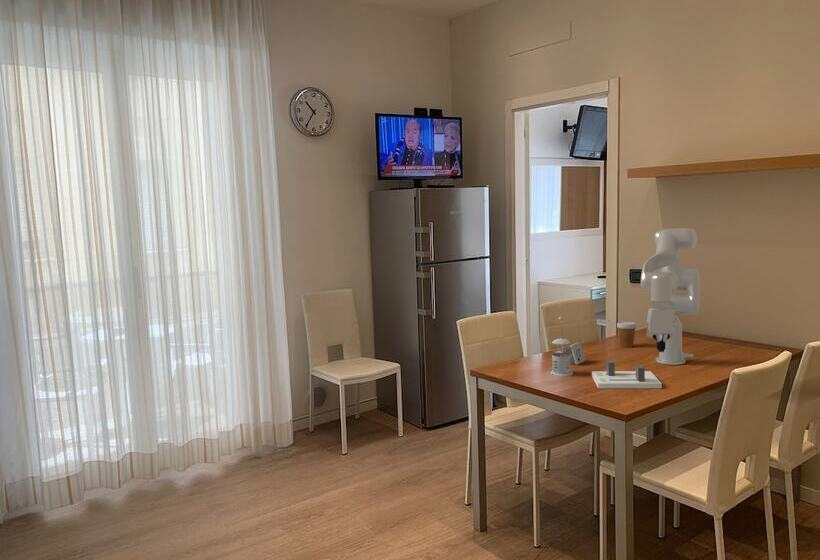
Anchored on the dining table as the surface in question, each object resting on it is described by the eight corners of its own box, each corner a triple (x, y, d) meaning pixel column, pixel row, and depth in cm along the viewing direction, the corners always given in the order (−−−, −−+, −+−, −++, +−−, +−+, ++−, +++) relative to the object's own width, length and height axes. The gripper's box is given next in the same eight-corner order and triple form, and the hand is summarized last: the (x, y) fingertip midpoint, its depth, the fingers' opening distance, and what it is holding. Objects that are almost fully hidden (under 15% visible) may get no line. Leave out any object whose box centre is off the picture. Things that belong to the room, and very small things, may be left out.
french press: (550, 376, 274) (549, 318, 272) (549, 369, 286) (548, 314, 283) (574, 376, 273) (573, 318, 270) (572, 369, 284) (571, 313, 281)
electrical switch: (577, 365, 291) (575, 345, 290) (566, 365, 294) (564, 345, 293) (585, 361, 298) (583, 341, 297) (575, 361, 301) (573, 341, 301)
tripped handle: (641, 377, 257) (641, 365, 257) (644, 380, 252) (644, 368, 252) (635, 377, 258) (635, 365, 257) (638, 380, 253) (638, 368, 252)
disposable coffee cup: (618, 343, 331) (618, 321, 330) (637, 344, 327) (637, 321, 326) (615, 347, 323) (615, 324, 322) (635, 348, 319) (635, 325, 317)
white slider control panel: (650, 375, 268) (650, 358, 267) (661, 388, 249) (661, 369, 249) (591, 375, 272) (591, 358, 271) (598, 388, 253) (598, 369, 252)
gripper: (678, 304, 253) (678, 349, 255) (639, 304, 255) (639, 349, 257) (683, 306, 246) (683, 353, 247) (643, 307, 248) (643, 353, 250)
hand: (661, 351), depth 252 cm, fingers closed
